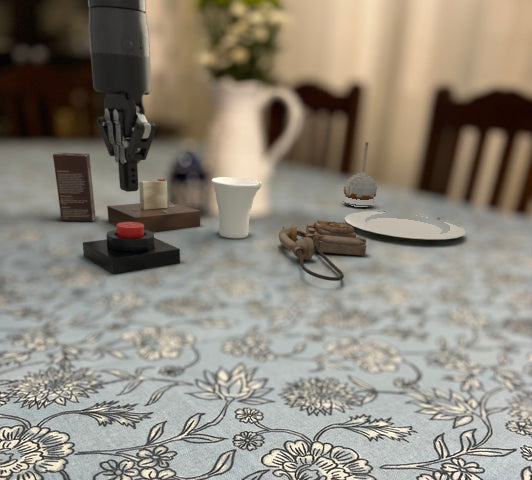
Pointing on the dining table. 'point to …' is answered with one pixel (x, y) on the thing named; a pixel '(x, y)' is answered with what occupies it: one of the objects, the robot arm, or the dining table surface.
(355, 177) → the grey candy apple
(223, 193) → the cup
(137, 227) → the button
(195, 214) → the panel
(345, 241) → the telephone
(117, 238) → the housing
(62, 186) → the box
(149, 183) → the cream slab
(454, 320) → the dining table surface
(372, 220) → the plate
